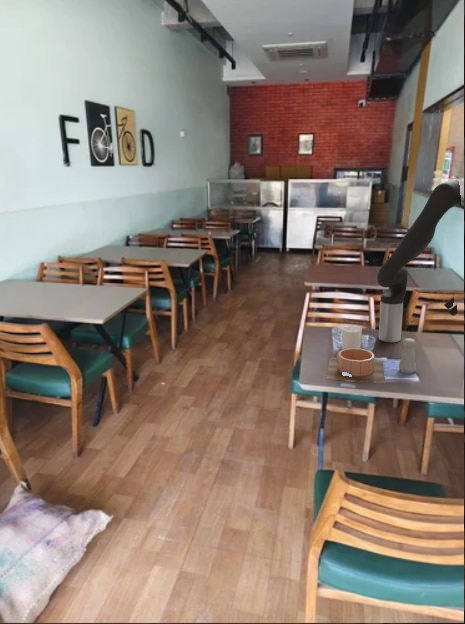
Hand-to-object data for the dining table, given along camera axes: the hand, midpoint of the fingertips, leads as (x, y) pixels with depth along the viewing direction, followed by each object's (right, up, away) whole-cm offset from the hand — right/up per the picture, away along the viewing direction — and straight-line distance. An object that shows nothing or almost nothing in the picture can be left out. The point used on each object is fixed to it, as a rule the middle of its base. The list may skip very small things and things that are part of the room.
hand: (448, 310), depth 146 cm
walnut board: (-28, -23, +13) cm, 38 cm away
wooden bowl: (-28, -22, +13) cm, 38 cm away
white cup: (-24, -17, +32) cm, 44 cm away
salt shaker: (-10, -23, +10) cm, 27 cm away
